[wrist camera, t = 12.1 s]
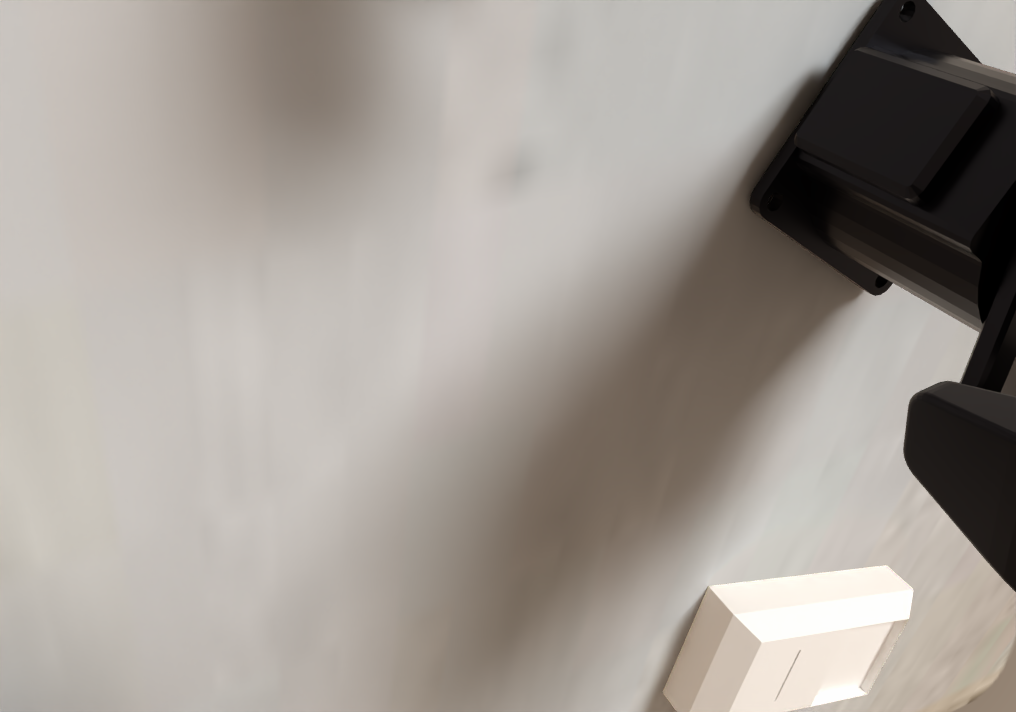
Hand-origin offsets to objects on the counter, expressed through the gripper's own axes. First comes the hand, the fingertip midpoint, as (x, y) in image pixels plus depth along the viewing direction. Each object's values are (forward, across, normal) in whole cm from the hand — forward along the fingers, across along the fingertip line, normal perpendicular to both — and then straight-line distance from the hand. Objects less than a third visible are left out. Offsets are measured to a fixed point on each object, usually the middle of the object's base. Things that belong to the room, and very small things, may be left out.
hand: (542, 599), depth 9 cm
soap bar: (+14, -13, +23) cm, 30 cm away
